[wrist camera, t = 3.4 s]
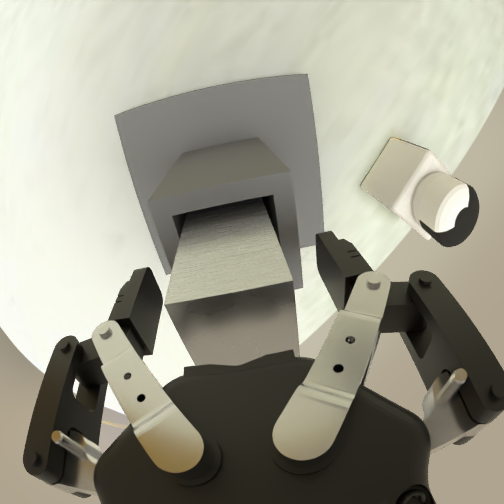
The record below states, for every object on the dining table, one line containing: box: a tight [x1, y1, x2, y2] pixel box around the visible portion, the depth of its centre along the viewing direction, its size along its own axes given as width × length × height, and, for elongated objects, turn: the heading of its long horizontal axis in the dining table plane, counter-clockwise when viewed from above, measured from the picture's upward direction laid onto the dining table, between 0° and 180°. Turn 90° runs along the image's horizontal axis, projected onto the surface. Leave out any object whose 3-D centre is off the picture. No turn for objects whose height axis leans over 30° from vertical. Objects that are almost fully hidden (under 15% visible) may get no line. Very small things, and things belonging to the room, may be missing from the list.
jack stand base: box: [115, 74, 324, 290], centre depth 21 cm, size 18×18×14 cm
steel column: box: [164, 197, 300, 366], centre depth 17 cm, size 4×4×18 cm
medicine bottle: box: [361, 137, 479, 247], centre depth 23 cm, size 7×7×12 cm
